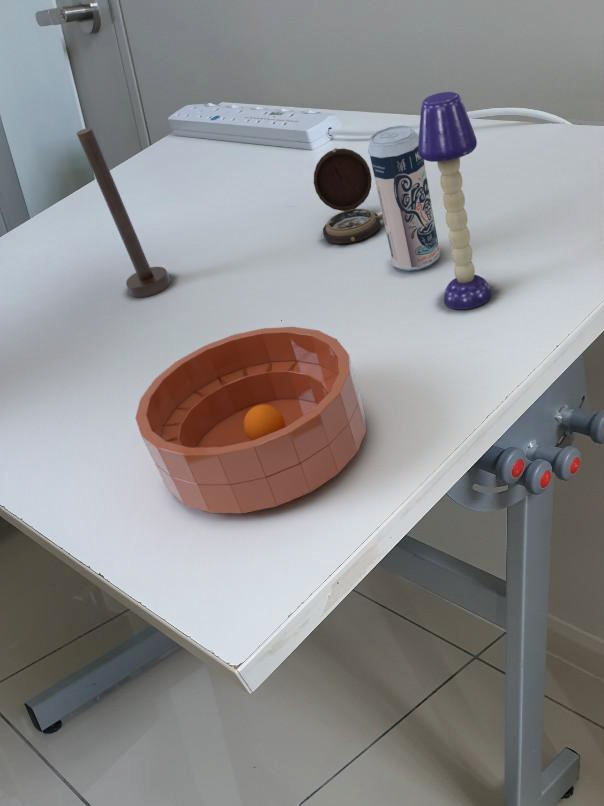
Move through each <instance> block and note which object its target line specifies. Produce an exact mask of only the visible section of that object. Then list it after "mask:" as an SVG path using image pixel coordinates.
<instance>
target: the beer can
mask: <svg viewBox="0 0 604 806" xmlns="http://www.w3.org/2000/svg"><path fill="white" fill-rule="evenodd" d="M418 144H419V134H417V132H416V130H415V129H414V128H413V126H409V125H395V126H388V127H386V128H382V129H381V130H378V131H376V132H375V133H373V135H371V136H370V140H369V145H368V148H367V153H368V155H369V158H370V163H371V168H372V173H373V176H374V177H373V178H374V181H375V186H376V191H377V197H378V199H379V204H380V209H381V214H383V219H384V220H383V223H384V228H385V232H386V238H387V243H388V247H389V251H390V257H391V264H392V265H393V266H394V267H395V268H397V269H399V270H402V271H408V272H414V271H420V270H424V269H426V268H428V267H430V266H432V264H434V262H436V261H438V259H439V258H440V256H441V250H440V245H439V244H440V243H439V239H438V234H437V228H436V221H435V217H434V211H433V205H432V200H431V193H430V188H429V183H428V177H427V169H426V164H425V160H423V159H422V158H421V157H420V156H419V152H418Z"/></svg>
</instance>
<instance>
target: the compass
mask: <svg viewBox="0 0 604 806" xmlns="http://www.w3.org/2000/svg"><path fill="white" fill-rule="evenodd" d="M372 179H373V178H372V173H371V169H370V166H369V165H368V163H367V160H365V159H364V157H362V155H361V154H359V153H358V152H356V151H354V150H353V149H348V148H337V147H335V148H333V149H331V150H330V151H327V152H326V153H325V154H323V156H321V157H320V159H319V160H318V162H317V163H316V165H315V169H314V172H313V186H314V190H315V193H316V195H317V196H318V198H319V200H320V201H321V202H322V203H323V204H324V205H325V206H327V207H329V208H330V209H333V210H336V211H340V212H339V213H338V212H337V213H336V214H335V215H334V216H331V218H330V219H328V221H327V223H326V224H325V225H324V226H323V228H322V234H323V237H324V238H325V240H326V241H328V242H330V243H332V244H341V245H342V244H351V243H356V242H359V241H363V240H365V239H367V238H369V237H371V236H372V235H374V234H375V233H376V232H377V231H378V230H379V229H380V227H381V225H382V224H381V221H384V219H383V214H382V213H380V214H378V213H376V212H374V211H372V210H369V209H367V208H359V207H360V206H361V205H362V204H363V203H364V202H365V201H366V200H367V198H368V197H369V195H370V192H371V189H372Z"/></svg>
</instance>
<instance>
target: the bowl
mask: <svg viewBox="0 0 604 806" xmlns="http://www.w3.org/2000/svg"><path fill="white" fill-rule="evenodd" d="M350 357H351V356H350V354H349V353H348V352H347V350H346V348H345V347H344V346H343V345H342V344H341V343H340V341H339V340H338V339H337V338H335V337H333V336H331V335H328V334H326V333H325V332H323V331H320V330H317V329H311V328H305V327H297V326H282V327H281V326H279V327H264V328H259V329H254V330H249V331H245V332H239V333H236V334H231V335H229V336H226V337H224V338H221V339H219V340H216V341H213V342H210V343H208V344H205V345H203V346H201V347H198V348H197V349H196V350H194V351H192V352H190V353H189V354H187V355H185V356H183V357H182V358H180V359H178V360H177V361H175V362H174V363H172V364H171V365H170V366H169V367H167V369H165V370H164V371H163V372H161V373H160V374H159V375H158V376H156V377H155V378H154V380H153V381H152V382H151V384H150V385H149V386H148V387H147V389H146V390H145V392H144V393H143V395H142V396H141V398H140V399H139V403H138V406H137V409H136V410H137V411H136V414H135V421H136V425H137V427H138V430H139V434H140V436H141V438H142V440H143V443H144V444H145V446H146V448H147V451H148V453H149V454H150V456H151V458H152V460H153V463H154V465H155V467H156V468H157V471H158V473H159V474H160V477H161V479H162V480H163V482H164V485H165V487H166V488H167V491H168V492H169V493H170V494H171V495H173V496H174V497H175V498H176V499H177V500H178V501H180V502H181V503H182V504H183V505H184V506H187V507H190V508H194V509H197V510H200V511H204V512H207V513H211V514H246V513H251V512H255V511H261V510H266V509H271V508H275V507H279V506H281V505H283V504H286V503H288V502H291V501H293V500H295V499H298V498H301V497H303V496H305V495H307V494H310V493H312V492H313V491H315V490H316V489H318V488H319V487H321V486H323V485H324V484H325V483H327V482H328V481H329V480H331V479H332V478H334V477H336V476H337V475H338V474H340V472H341V471H342V470H343V469H344V468H345V467H346V466H347V464H348V463H349V462H350V461H351V460H352V459H353V458H354V457H355V456H356V454H357V453H358V452H359V450H360V447H361V444H362V442H363V440H364V437H365V435H366V433H367V427H366V426H367V424H366V413H365V409H364V406H363V401H362V398H361V395H360V390H359V388H358V382H357V380H356V376H355V372H354V368H353V364H352V361H351V358H350ZM258 405H270V406H273V407H275V408H276V409H277V410H279V412H280V413H281V414H282V416H283V418H284V422H285V428H283V429H281V430H278V431H276V432H273V433H271V434H268V435H266V436H263V437H261V438H258V439H256V440H252V441H251V440H250V439H249V438H248V436H247V435H246V433H245V430H244V419H245V416H246V414H247V413H248V412H249V411H250V410H251V409H252V408H253V407H255V406H258Z"/></svg>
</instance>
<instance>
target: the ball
mask: <svg viewBox="0 0 604 806" xmlns="http://www.w3.org/2000/svg"><path fill="white" fill-rule="evenodd" d="M283 428H285V422H284V418H283V416H282V414H281V413H280V412H279V410H277V409H276V408H275V407H273V406H270V405H258V406H255V407H253V408H252V409H251V410H250V411H249V412H248V413H247V414H246V416H245V419H244V430H245V433H246V435H247V436H248V438H249V439H250V440H251V441H252V440H256V439H258V438H261V437H263V436H266V435H268V434H271V433H273V432H276V431H278V430H281V429H283Z"/></svg>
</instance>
